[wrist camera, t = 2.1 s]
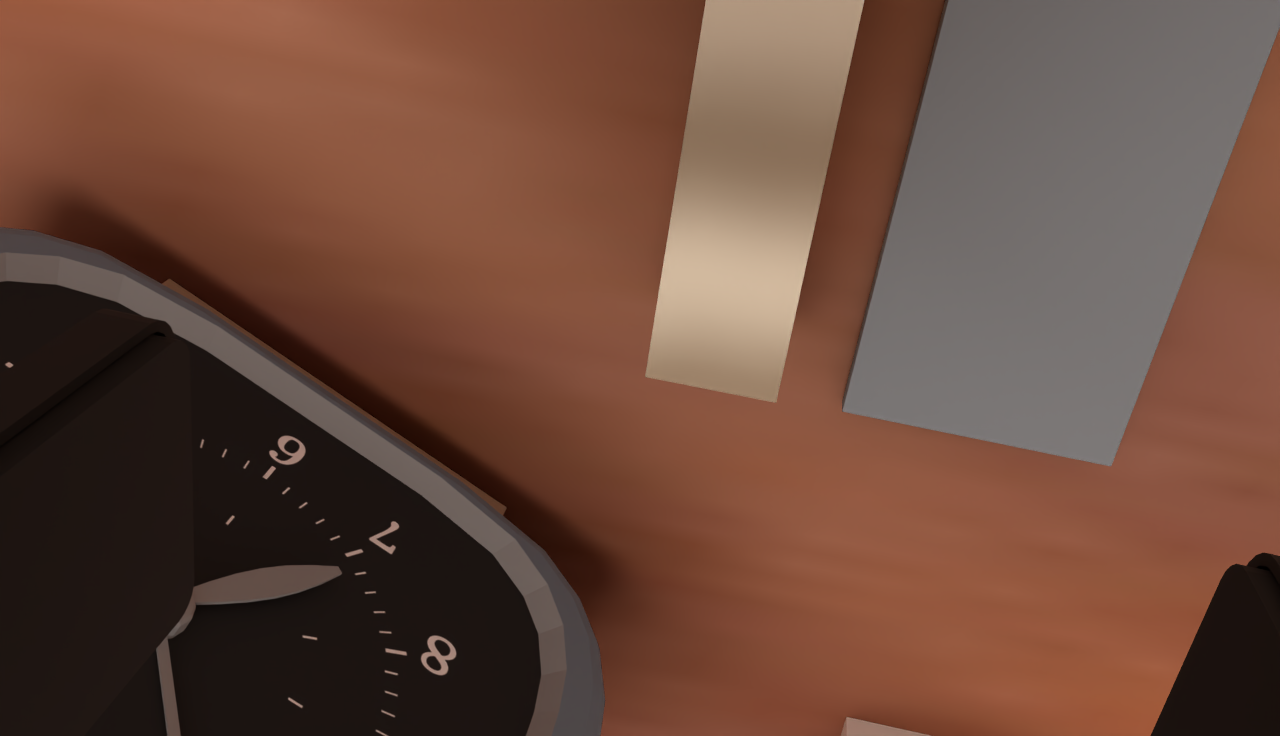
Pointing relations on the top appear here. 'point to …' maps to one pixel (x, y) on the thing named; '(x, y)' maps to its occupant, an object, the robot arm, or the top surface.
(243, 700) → the alarm clock
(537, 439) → the top surface
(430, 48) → the top surface
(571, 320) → the top surface
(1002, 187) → the mat
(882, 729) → the tile
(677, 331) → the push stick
